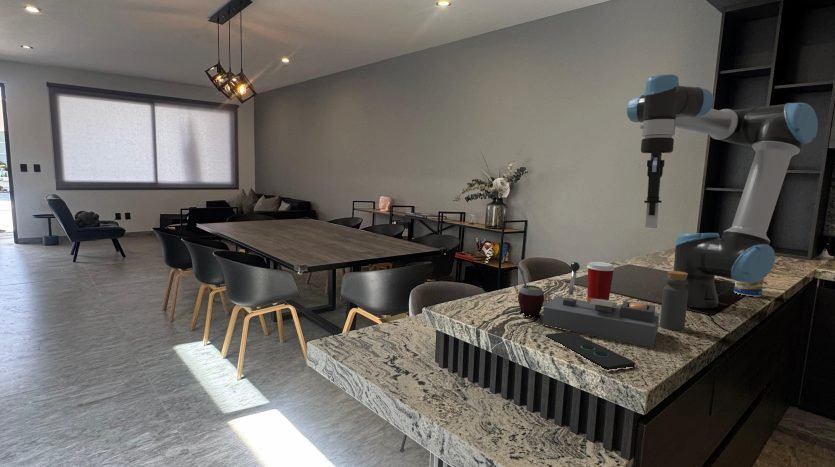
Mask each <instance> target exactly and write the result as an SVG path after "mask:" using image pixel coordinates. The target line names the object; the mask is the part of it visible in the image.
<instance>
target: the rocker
mask: <svg viewBox="0 0 835 467" xmlns="http://www.w3.org/2000/svg"><path fill="white" fill-rule="evenodd" d="M590 304H596V305H602V306H608V307H616V306H618V301H613V300H610V299H609V300H604V299H591V300H590Z"/></svg>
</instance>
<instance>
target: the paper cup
mask: <svg viewBox="0 0 835 467" xmlns="http://www.w3.org/2000/svg"><path fill="white" fill-rule="evenodd" d="M586 268H587V289H586V290H587V295H586V298H587V299H586V301H588V302H590V300H591V299H604V300H610V295H611V288H612V282H613V277H614V276H613V275H614V271H615V268H614V264H612V263H608V262H602V261H592V262H591V261H590V262H588V264H587V265H586Z"/></svg>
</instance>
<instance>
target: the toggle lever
mask: <svg viewBox="0 0 835 467" xmlns="http://www.w3.org/2000/svg"><path fill="white" fill-rule="evenodd" d="M580 267H581V266H580V264H579V263H578V262H577V261H574V262H572V263H571V264H570V270H571V276H570V281H569V282H570V283H569V286H568V287H569V288H568V295H571V296H573V295H574V291H575V285H576V278H577V271H579V270H580Z"/></svg>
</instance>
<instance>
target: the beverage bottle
mask: <svg viewBox="0 0 835 467" xmlns="http://www.w3.org/2000/svg"><path fill="white" fill-rule="evenodd" d="M764 279H765V278H763V279H761V280H760V281H758V282H754V283H749V282H743V281H742V282H739V281H736V280H734V281H735V282H734V288H733V292H734V293H735V294H736V293H737V295H739V294H741V295H740V296H742V295H746V296H745V297H748V296H753V297H752V298H759V297H761V296H762V294H763V285H764Z"/></svg>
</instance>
